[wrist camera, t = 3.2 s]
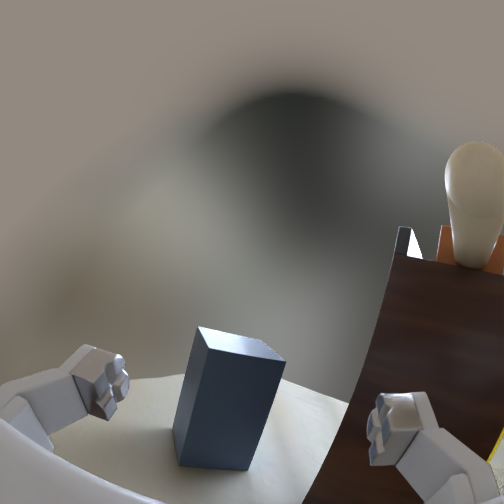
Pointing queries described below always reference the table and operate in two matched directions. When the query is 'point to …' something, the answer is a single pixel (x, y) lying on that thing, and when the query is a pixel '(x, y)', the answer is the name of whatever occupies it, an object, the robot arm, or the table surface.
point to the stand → (423, 371)
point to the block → (225, 400)
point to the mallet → (474, 209)
